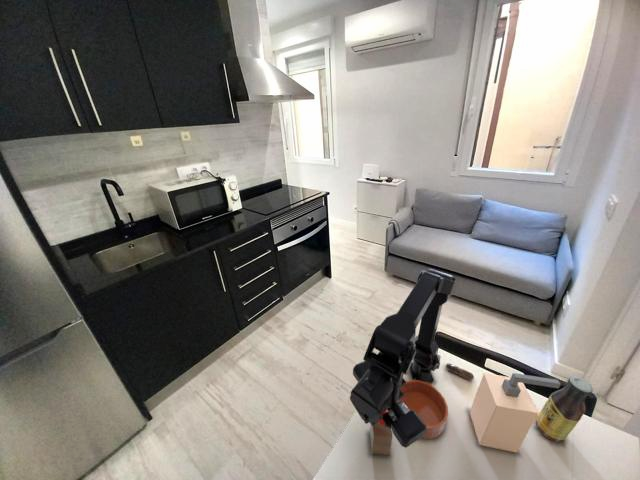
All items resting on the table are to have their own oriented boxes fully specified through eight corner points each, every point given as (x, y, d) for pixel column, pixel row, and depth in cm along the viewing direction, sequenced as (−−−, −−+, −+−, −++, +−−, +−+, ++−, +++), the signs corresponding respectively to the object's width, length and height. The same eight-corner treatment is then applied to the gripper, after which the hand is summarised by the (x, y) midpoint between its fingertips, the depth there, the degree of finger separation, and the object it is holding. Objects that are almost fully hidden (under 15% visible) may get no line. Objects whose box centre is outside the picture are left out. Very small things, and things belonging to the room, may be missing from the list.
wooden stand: (369, 434, 69) (371, 416, 65) (386, 435, 68) (389, 417, 65) (371, 453, 65) (373, 435, 61) (389, 455, 64) (392, 436, 61)
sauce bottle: (533, 413, 72) (559, 365, 64) (561, 425, 69) (594, 376, 61) (536, 436, 67) (565, 386, 59) (567, 450, 64) (603, 400, 56)
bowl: (391, 389, 80) (393, 379, 77) (435, 391, 79) (438, 380, 77) (400, 437, 68) (403, 426, 66) (452, 440, 67) (456, 429, 65)
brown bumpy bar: (444, 369, 85) (446, 364, 85) (445, 365, 87) (447, 360, 86) (472, 382, 81) (474, 377, 80) (473, 378, 83) (474, 373, 82)
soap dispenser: (479, 445, 66) (503, 389, 56) (469, 411, 73) (489, 357, 64) (536, 456, 63) (571, 400, 54) (519, 420, 71) (548, 365, 61)
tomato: (374, 413, 63) (375, 405, 62) (387, 414, 63) (389, 406, 62) (376, 427, 60) (377, 419, 59) (390, 428, 60) (391, 420, 59)
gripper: (334, 357, 59) (334, 399, 66) (387, 438, 44) (380, 483, 51) (373, 339, 64) (369, 381, 70) (434, 408, 48) (421, 453, 55)
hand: (382, 419), depth 62 cm, fingers closed on tomato, 3 cm apart
